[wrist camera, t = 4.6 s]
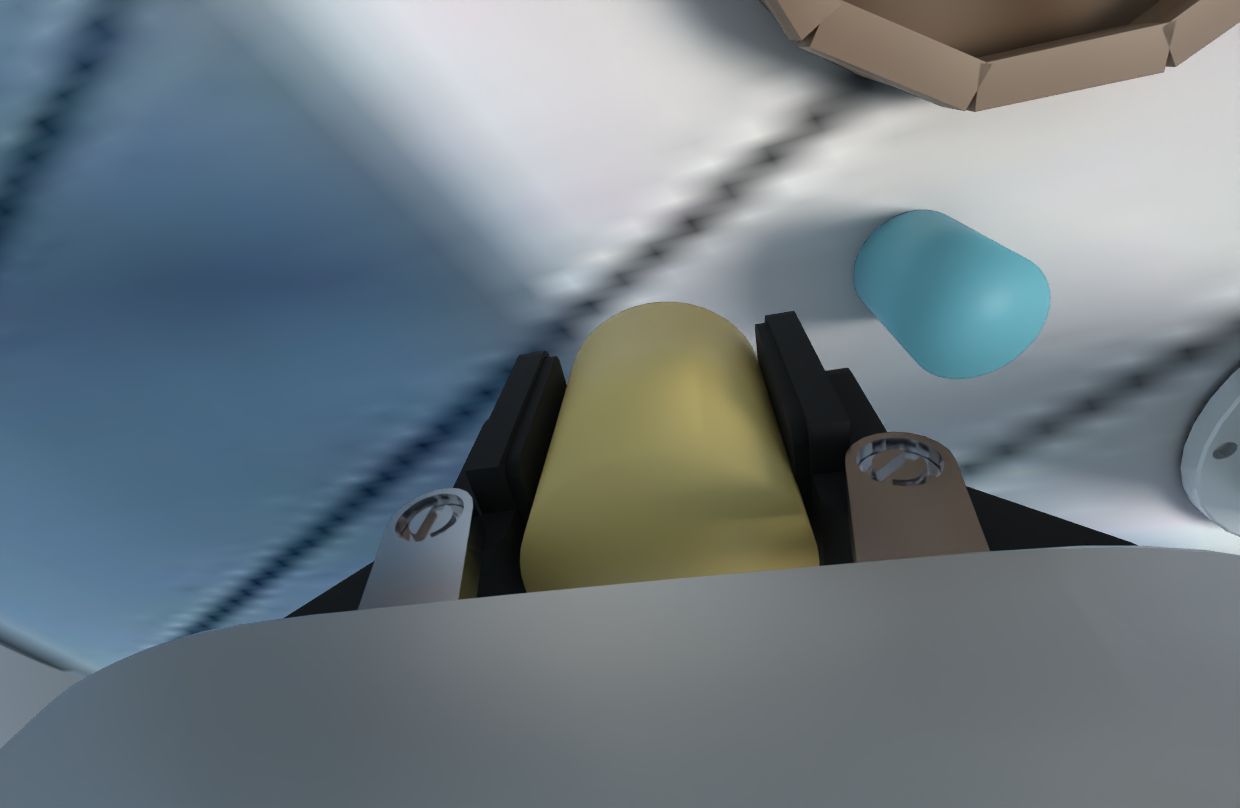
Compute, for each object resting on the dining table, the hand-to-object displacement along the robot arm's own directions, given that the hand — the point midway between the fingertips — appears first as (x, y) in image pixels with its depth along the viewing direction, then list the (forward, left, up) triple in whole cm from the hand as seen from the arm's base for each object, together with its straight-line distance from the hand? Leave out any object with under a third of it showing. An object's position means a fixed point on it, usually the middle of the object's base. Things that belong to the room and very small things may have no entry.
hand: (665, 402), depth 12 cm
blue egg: (-9, +3, -11) cm, 15 cm away
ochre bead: (0, 0, 0) cm, 0 cm away
